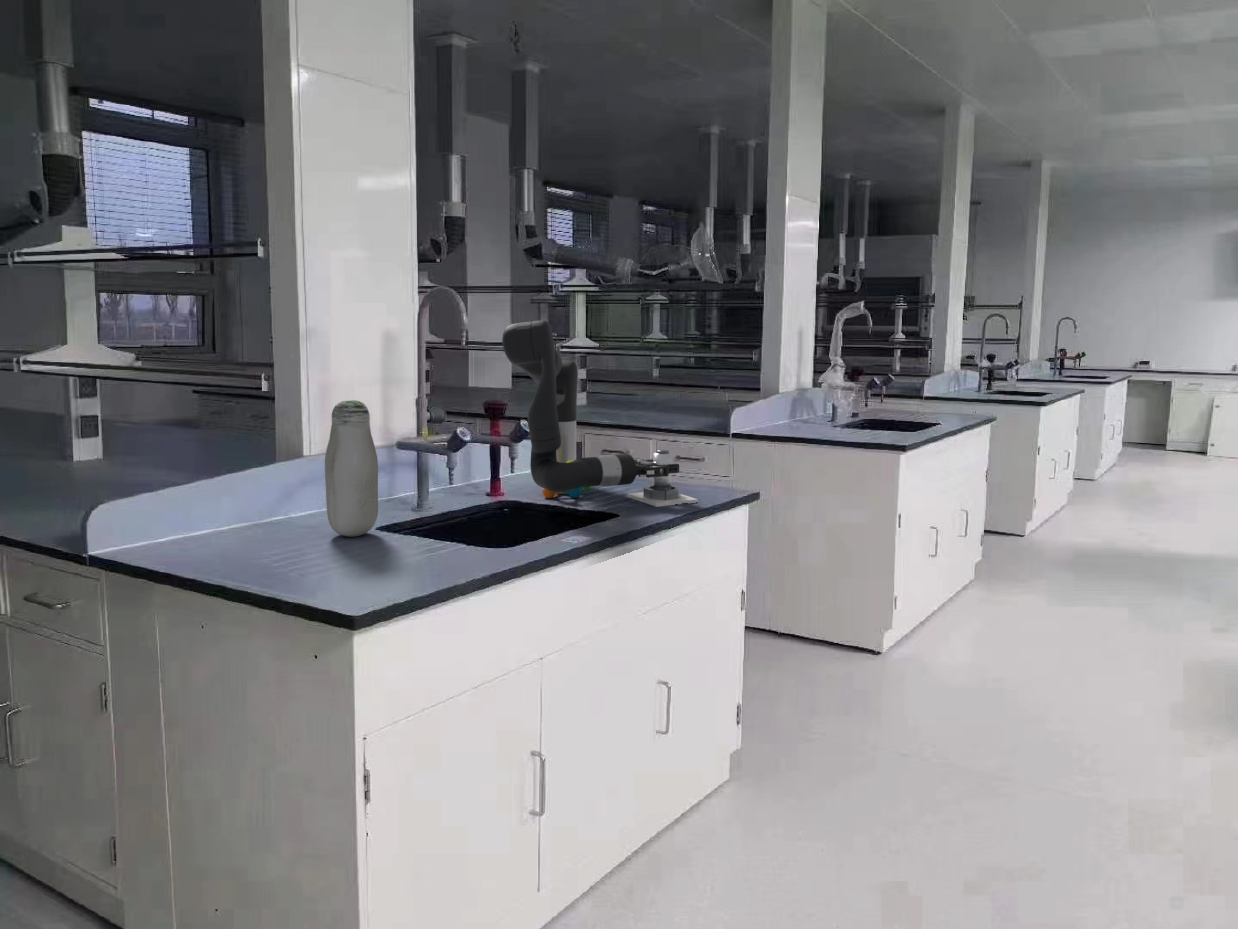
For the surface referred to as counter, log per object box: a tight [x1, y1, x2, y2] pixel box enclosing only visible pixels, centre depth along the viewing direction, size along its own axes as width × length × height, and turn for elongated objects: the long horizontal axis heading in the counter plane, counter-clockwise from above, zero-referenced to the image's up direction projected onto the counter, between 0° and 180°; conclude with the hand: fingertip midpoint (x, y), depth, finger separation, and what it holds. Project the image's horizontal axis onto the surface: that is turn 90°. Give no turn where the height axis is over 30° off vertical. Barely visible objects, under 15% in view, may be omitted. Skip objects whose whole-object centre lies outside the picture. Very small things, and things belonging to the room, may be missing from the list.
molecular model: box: [542, 460, 592, 499], centre depth 245 cm, size 11×10×15 cm
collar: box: [643, 484, 682, 500], centre depth 243 cm, size 9×9×2 cm
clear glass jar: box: [652, 449, 673, 490], centre depth 242 cm, size 5×5×12 cm
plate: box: [626, 491, 699, 508], centre depth 243 cm, size 14×12×1 cm
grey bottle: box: [324, 399, 379, 538], centre depth 199 cm, size 10×10×28 cm
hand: (669, 465), depth 243 cm, fingers open, 8 cm apart
